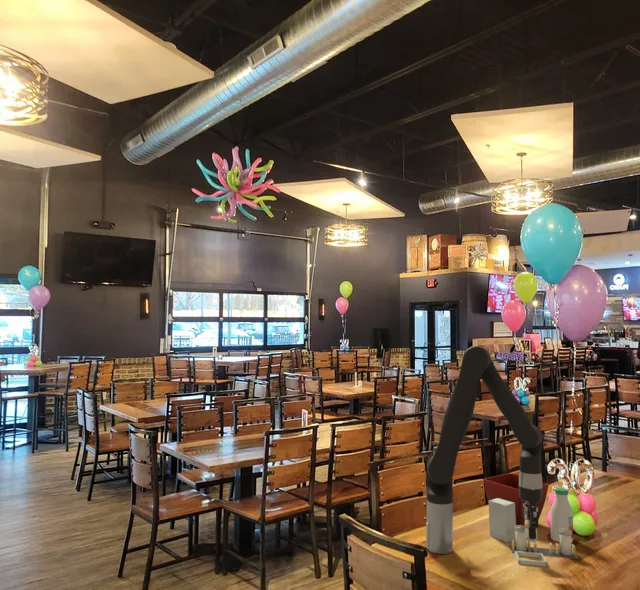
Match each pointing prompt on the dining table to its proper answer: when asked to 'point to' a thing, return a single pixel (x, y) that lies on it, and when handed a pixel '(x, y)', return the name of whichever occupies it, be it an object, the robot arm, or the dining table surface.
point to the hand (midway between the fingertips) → (530, 535)
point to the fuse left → (520, 538)
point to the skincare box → (502, 519)
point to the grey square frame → (530, 562)
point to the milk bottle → (561, 514)
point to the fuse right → (565, 542)
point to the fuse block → (546, 550)
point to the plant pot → (511, 493)
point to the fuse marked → (528, 531)
